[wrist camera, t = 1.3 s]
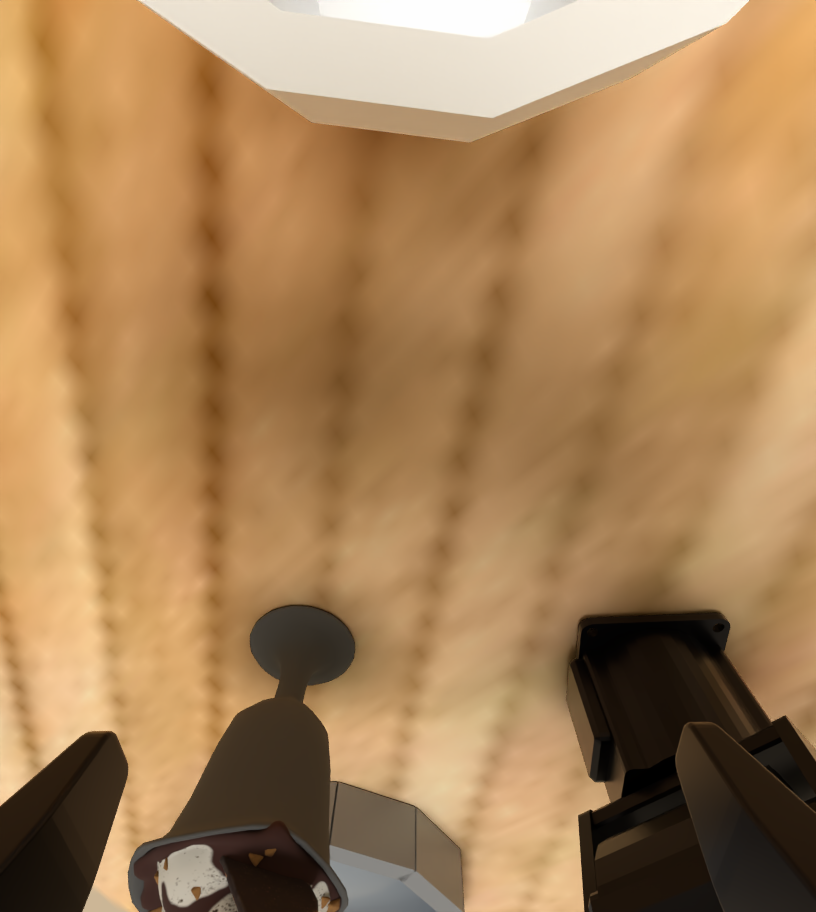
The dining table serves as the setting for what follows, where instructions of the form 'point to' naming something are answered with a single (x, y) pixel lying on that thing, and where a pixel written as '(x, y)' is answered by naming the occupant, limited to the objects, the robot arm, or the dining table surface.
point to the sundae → (259, 793)
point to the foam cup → (440, 54)
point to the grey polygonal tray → (391, 855)
